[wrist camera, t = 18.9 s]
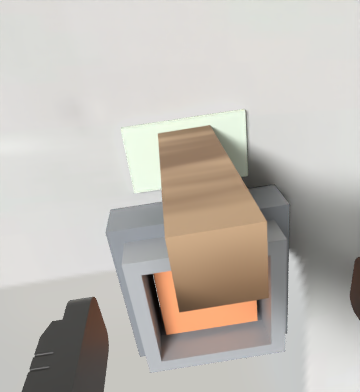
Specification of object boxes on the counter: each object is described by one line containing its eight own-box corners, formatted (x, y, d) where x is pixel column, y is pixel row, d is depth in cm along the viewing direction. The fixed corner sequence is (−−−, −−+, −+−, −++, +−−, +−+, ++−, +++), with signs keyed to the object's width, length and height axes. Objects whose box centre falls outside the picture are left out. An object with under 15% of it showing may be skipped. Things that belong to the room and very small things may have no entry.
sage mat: (120, 127, 22) (120, 129, 22) (243, 109, 22) (245, 110, 22) (134, 190, 24) (134, 193, 24) (246, 173, 24) (248, 176, 24)
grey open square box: (110, 210, 25) (100, 254, 20) (274, 184, 25) (303, 222, 20) (140, 327, 30) (139, 383, 25) (274, 305, 30) (298, 358, 25)
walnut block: (157, 133, 22) (164, 237, 11) (210, 125, 22) (266, 221, 11) (166, 181, 23) (179, 312, 13) (214, 173, 23) (269, 297, 13)
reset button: (150, 236, 25) (150, 262, 23) (243, 222, 25) (254, 245, 23) (164, 305, 28) (166, 335, 26) (247, 292, 29) (257, 320, 26)
